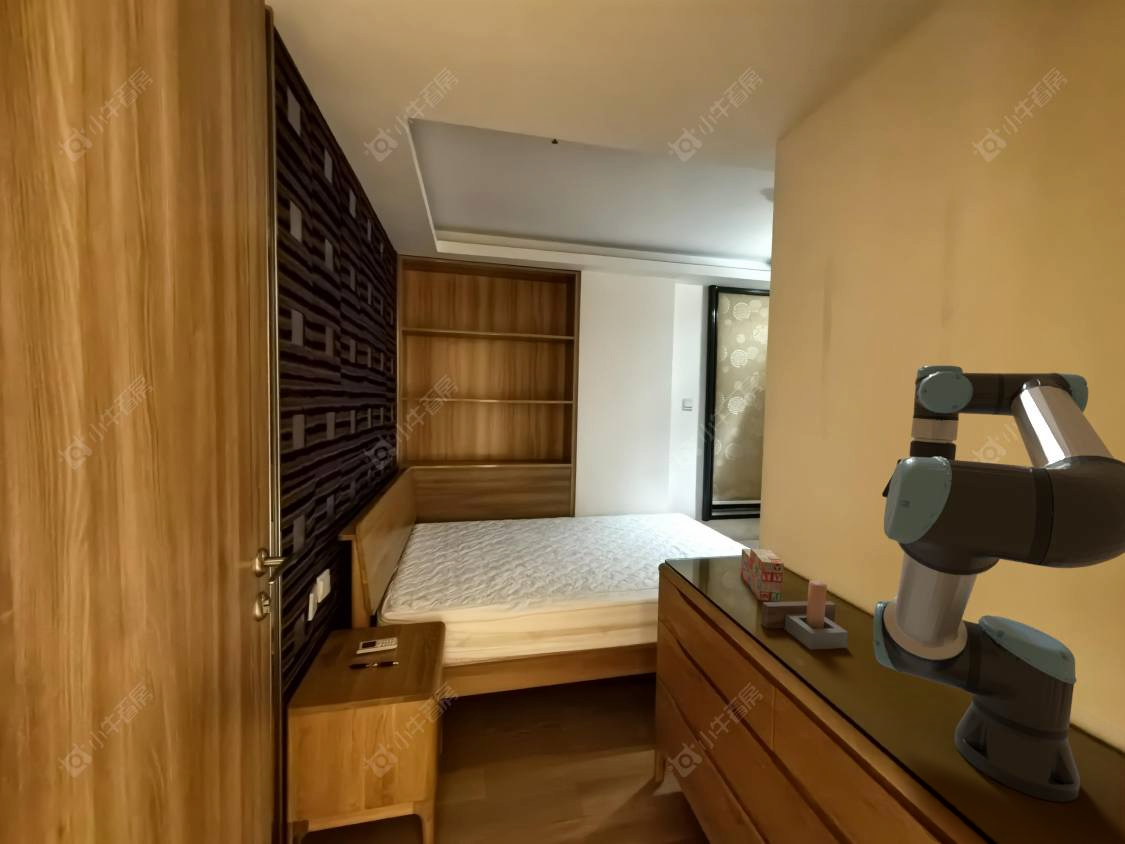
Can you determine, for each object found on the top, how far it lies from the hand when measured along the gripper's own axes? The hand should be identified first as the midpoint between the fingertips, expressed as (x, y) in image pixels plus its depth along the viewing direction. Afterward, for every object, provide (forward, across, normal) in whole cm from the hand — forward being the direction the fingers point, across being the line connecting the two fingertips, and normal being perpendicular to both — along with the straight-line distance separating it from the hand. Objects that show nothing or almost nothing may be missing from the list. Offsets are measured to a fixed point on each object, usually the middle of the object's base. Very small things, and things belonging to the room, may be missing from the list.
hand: (923, 541), depth 99 cm
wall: (+32, +27, +7) cm, 42 cm away
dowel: (+32, +21, +7) cm, 39 cm away
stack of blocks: (+32, +52, +3) cm, 61 cm away
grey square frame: (+32, +21, +7) cm, 38 cm away
